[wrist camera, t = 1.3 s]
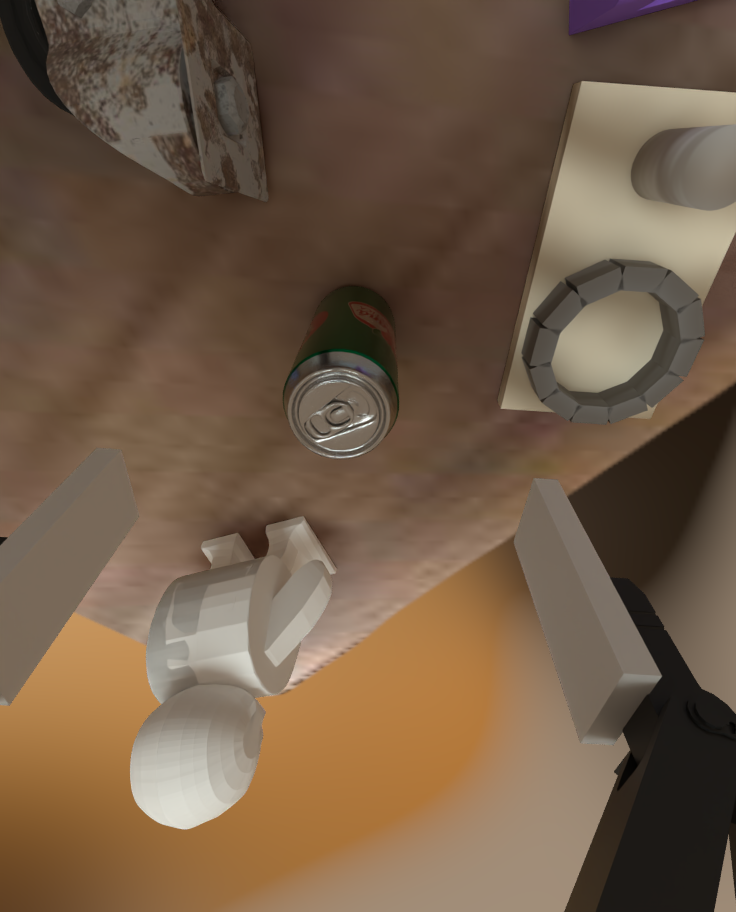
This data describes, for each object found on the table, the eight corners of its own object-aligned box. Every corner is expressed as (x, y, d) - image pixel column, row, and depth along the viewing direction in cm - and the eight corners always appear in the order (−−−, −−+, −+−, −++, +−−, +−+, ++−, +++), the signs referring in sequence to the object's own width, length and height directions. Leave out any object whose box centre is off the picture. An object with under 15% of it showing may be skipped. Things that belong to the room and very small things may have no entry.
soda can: (409, 338, 30) (422, 435, 20) (343, 376, 31) (323, 483, 21) (367, 266, 27) (356, 335, 17) (298, 311, 29) (252, 398, 19)
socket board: (573, 84, 22) (629, 64, 17) (778, 99, 22) (896, 84, 17) (497, 400, 32) (519, 449, 27) (642, 410, 32) (692, 461, 27)
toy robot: (219, 595, 44) (117, 868, 27) (167, 528, 39) (6, 806, 23) (356, 564, 41) (336, 848, 24) (317, 488, 36) (259, 773, 20)
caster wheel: (56, -46, 22) (249, -89, 20) (113, 216, 26) (279, 202, 24) (-99, -166, 16) (156, -243, 14) (7, 199, 20) (216, 179, 18)
